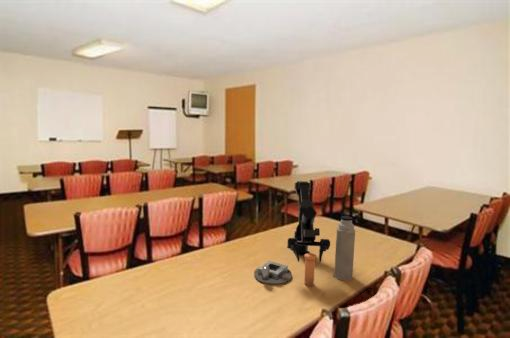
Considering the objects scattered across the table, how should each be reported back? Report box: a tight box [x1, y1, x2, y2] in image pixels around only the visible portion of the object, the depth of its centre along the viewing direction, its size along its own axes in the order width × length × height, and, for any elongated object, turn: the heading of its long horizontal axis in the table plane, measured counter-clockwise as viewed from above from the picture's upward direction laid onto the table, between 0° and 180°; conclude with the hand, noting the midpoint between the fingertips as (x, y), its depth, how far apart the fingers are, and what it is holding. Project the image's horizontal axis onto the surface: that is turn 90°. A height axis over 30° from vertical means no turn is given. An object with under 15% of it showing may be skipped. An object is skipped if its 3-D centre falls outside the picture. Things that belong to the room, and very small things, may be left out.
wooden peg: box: [303, 252, 317, 287], centre depth 138 cm, size 5×5×13 cm
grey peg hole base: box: [253, 260, 293, 286], centre depth 146 cm, size 17×17×6 cm
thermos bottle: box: [333, 215, 356, 282], centre depth 144 cm, size 8×8×28 cm
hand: (309, 262), depth 139 cm, fingers open, 9 cm apart
